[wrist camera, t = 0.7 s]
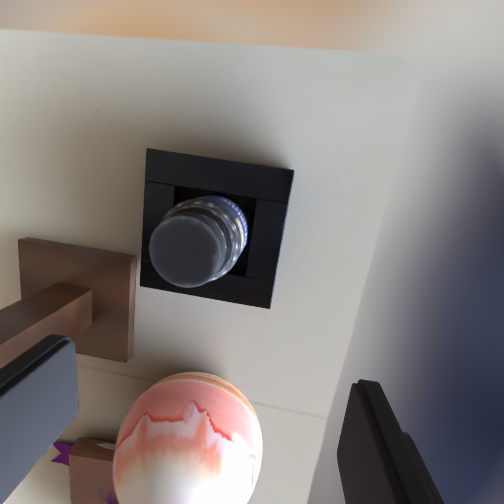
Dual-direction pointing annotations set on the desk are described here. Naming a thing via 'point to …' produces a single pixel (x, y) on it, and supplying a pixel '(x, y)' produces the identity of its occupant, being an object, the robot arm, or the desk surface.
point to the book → (89, 470)
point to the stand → (71, 300)
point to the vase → (188, 444)
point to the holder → (230, 182)
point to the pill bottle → (200, 240)
